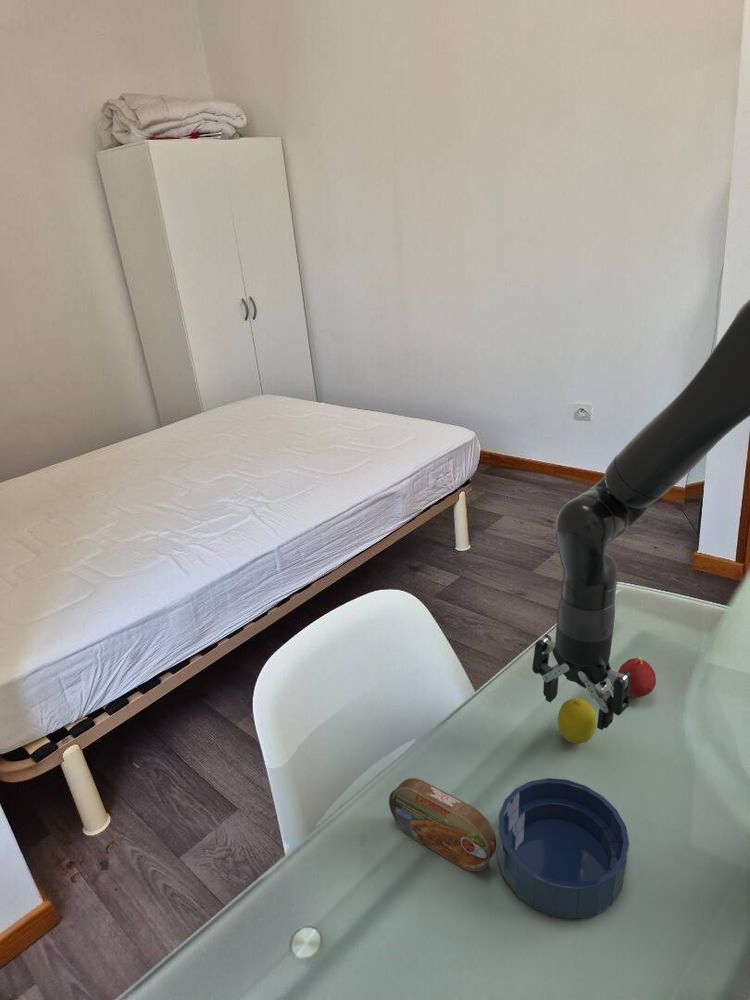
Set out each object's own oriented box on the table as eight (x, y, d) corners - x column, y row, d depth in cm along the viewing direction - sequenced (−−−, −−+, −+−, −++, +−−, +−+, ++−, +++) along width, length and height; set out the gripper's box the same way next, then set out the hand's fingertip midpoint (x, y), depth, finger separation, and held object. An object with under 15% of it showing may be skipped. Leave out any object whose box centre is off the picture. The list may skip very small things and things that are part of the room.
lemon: (601, 743, 104) (606, 702, 100) (576, 761, 101) (580, 719, 98) (573, 722, 108) (576, 682, 105) (548, 738, 105) (551, 698, 102)
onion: (609, 686, 115) (613, 647, 111) (642, 681, 115) (648, 643, 112) (624, 710, 110) (629, 671, 106) (659, 706, 110) (665, 666, 107)
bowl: (646, 857, 87) (651, 825, 84) (582, 949, 77) (586, 915, 75) (540, 791, 97) (542, 759, 94) (473, 864, 87) (473, 832, 85)
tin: (389, 824, 93) (385, 780, 90) (402, 808, 96) (399, 764, 92) (487, 884, 85) (488, 837, 81) (499, 864, 87) (500, 818, 83)
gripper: (647, 631, 93) (633, 721, 100) (554, 592, 102) (548, 678, 109) (620, 658, 88) (608, 751, 95) (525, 615, 97) (521, 703, 104)
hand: (576, 712), depth 102 cm, fingers open, 8 cm apart
